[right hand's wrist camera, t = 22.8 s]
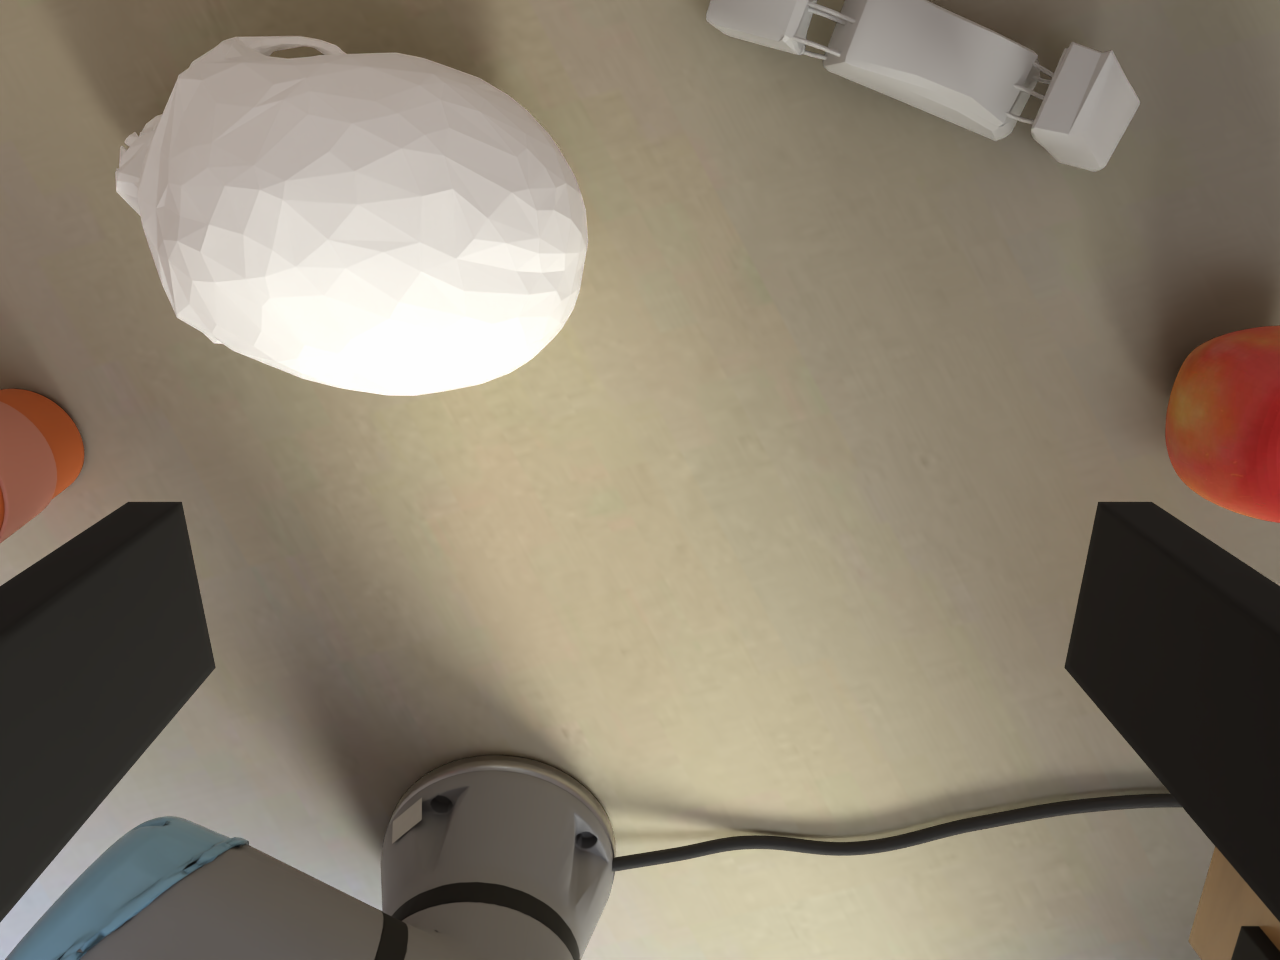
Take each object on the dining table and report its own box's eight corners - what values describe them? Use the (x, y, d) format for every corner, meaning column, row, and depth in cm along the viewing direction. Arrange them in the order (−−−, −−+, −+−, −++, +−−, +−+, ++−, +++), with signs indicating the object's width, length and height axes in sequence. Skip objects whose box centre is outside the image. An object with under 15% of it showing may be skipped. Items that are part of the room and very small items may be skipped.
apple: (1222, 503, 48) (1362, 584, 39) (1085, 432, 47) (1197, 499, 37) (1340, 353, 45) (1524, 402, 36) (1198, 272, 44) (1351, 301, 34)
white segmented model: (1126, 98, 40) (1204, 78, 34) (1088, 177, 42) (1155, 172, 35) (732, -48, 40) (734, -96, 34) (705, 36, 41) (702, 5, 35)
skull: (142, 26, 40) (-152, -36, 25) (607, 91, 41) (587, 68, 26) (166, 308, 45) (-67, 394, 30) (579, 360, 46) (549, 467, 31)
